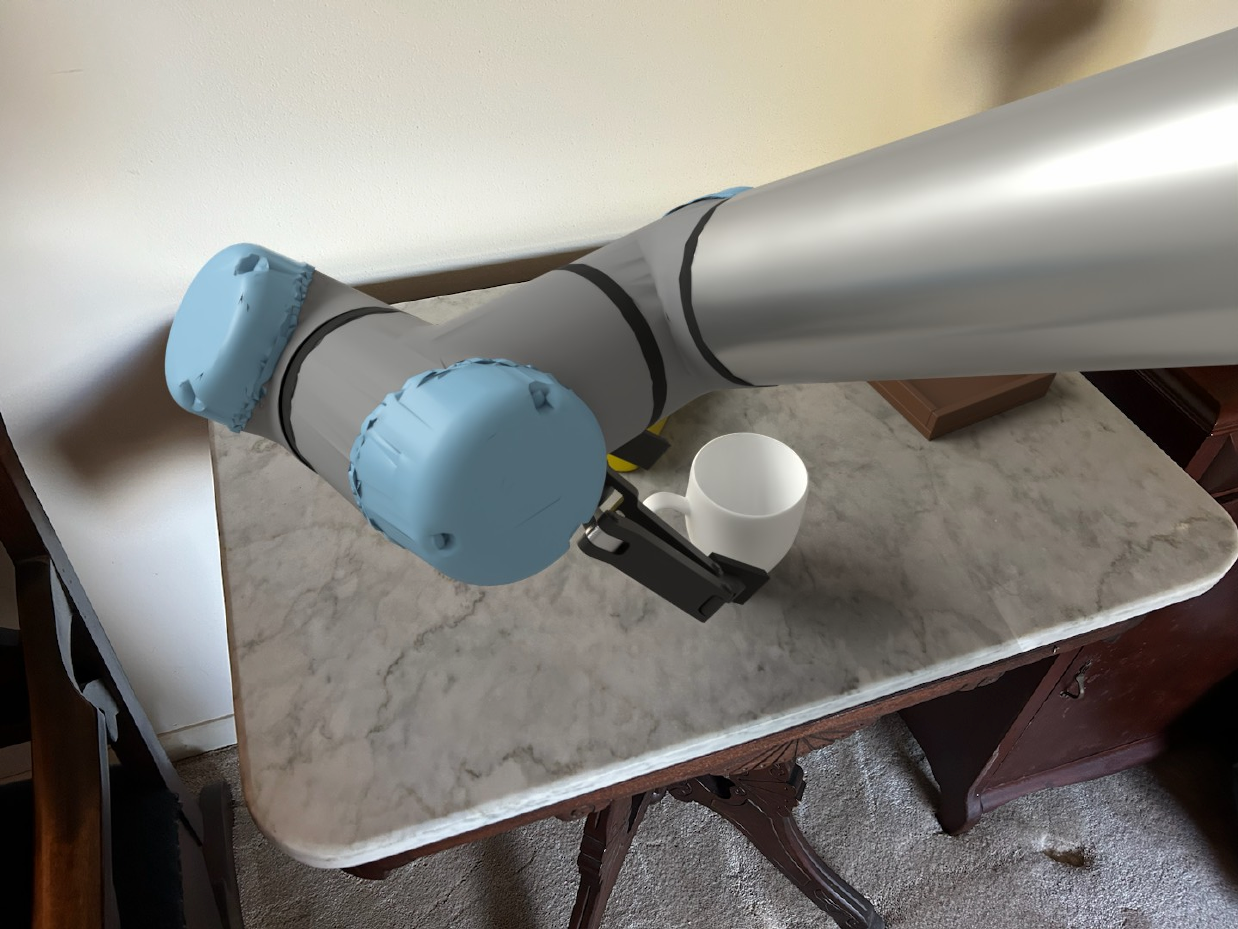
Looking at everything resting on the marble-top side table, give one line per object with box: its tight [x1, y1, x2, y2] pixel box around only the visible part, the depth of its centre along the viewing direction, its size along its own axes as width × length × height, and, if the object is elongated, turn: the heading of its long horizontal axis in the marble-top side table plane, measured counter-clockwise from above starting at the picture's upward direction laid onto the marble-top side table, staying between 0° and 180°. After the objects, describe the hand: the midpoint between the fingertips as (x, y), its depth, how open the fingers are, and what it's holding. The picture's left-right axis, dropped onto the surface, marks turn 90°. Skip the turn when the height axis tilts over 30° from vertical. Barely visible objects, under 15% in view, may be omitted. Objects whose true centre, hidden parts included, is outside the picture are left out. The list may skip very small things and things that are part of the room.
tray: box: [866, 373, 1058, 441], centre depth 84 cm, size 18×15×3 cm
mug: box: [642, 432, 810, 574], centre depth 62 cm, size 12×8×11 cm
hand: (702, 516), depth 61 cm, fingers open, 13 cm apart
